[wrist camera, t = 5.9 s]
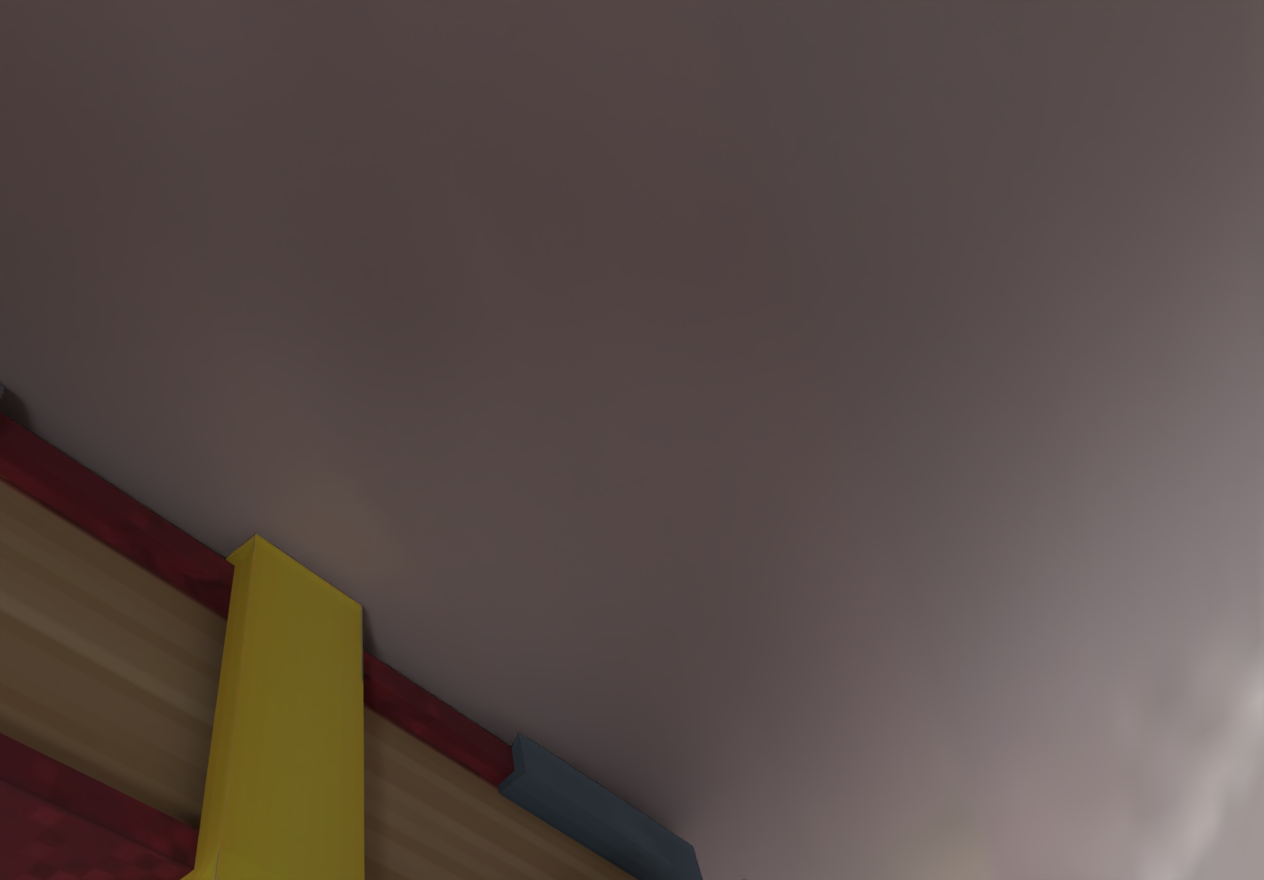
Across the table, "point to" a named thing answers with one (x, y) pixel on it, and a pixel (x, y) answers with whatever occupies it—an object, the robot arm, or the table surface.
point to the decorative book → (247, 721)
